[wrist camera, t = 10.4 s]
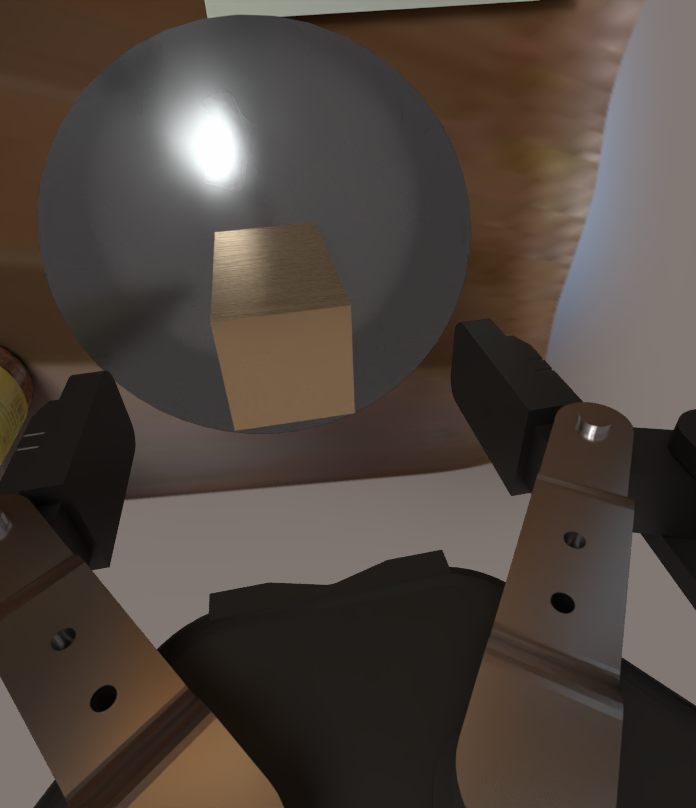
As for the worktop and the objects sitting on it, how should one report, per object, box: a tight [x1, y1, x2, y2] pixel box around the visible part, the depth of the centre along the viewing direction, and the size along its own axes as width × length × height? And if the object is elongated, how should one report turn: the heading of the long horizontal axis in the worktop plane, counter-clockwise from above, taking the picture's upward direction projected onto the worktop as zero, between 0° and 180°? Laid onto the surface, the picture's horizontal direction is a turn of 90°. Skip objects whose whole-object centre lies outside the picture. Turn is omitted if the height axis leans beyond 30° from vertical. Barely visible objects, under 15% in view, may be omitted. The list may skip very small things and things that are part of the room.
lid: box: [37, 14, 471, 434], centre depth 15 cm, size 14×14×7 cm
